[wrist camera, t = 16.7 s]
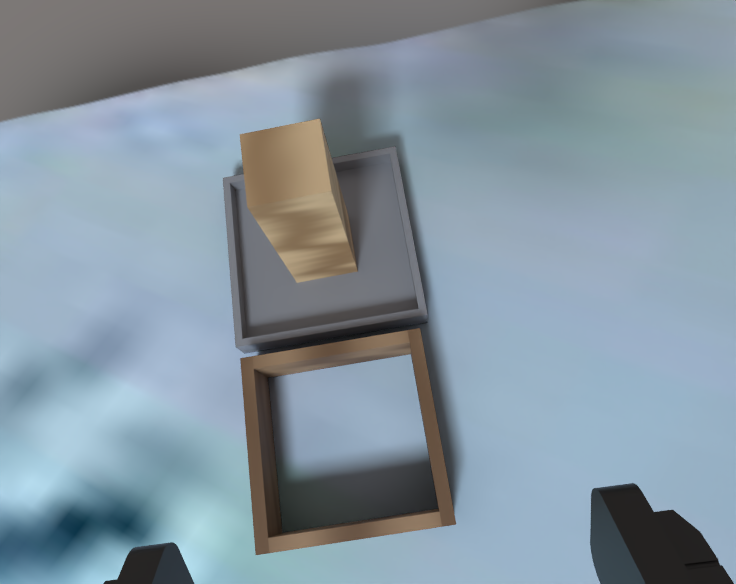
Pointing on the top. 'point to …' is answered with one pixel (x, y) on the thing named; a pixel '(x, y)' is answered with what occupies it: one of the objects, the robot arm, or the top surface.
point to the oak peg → (298, 199)
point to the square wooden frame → (264, 451)
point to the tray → (336, 293)
